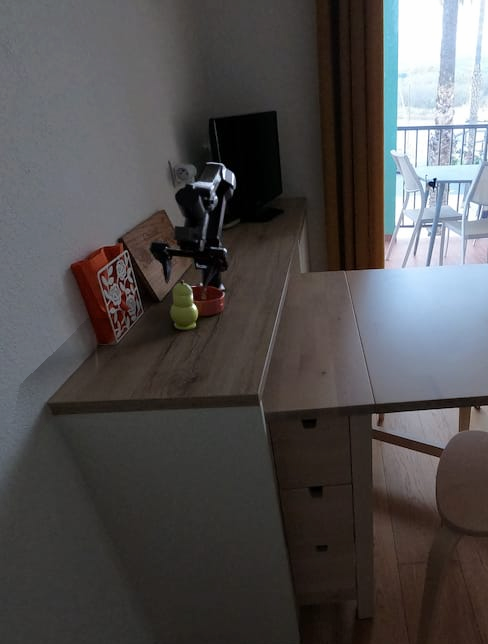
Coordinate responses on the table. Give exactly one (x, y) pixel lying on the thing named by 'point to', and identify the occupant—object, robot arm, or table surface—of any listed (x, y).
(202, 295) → the bowl
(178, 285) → the pear
